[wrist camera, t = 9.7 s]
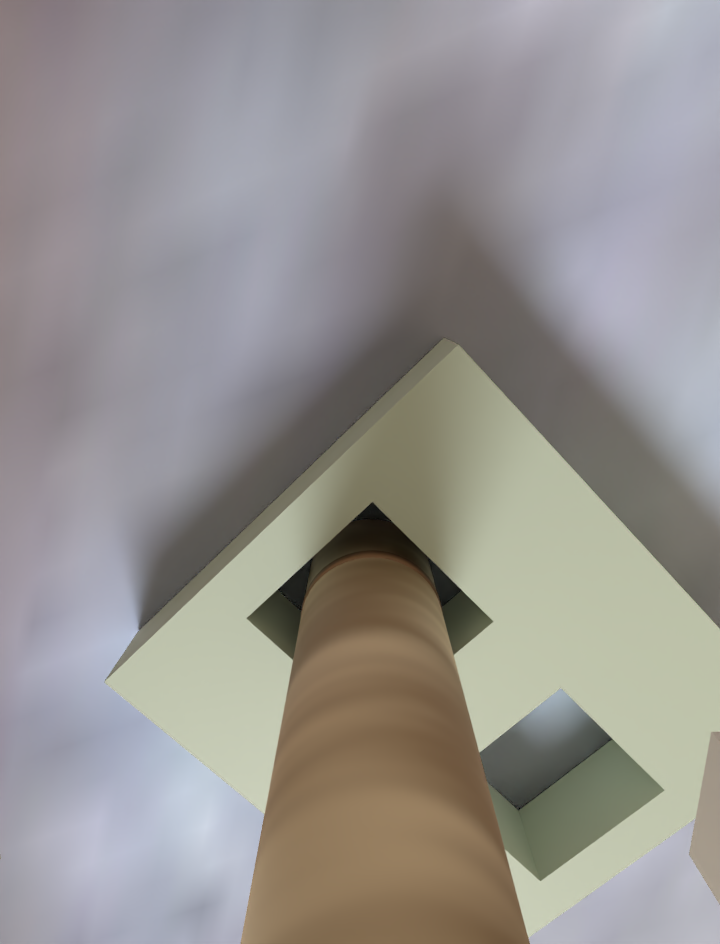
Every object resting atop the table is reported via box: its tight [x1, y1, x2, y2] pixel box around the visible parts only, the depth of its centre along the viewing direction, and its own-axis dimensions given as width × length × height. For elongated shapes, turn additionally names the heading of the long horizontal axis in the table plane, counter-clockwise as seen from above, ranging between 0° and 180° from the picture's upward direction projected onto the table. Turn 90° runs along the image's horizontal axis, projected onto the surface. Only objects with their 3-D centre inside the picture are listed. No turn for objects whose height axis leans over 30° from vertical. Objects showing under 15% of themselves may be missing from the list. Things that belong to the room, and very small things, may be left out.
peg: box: [241, 519, 530, 944], centre depth 14 cm, size 4×4×15 cm
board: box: [105, 338, 720, 938], centre depth 21 cm, size 16×14×3 cm
